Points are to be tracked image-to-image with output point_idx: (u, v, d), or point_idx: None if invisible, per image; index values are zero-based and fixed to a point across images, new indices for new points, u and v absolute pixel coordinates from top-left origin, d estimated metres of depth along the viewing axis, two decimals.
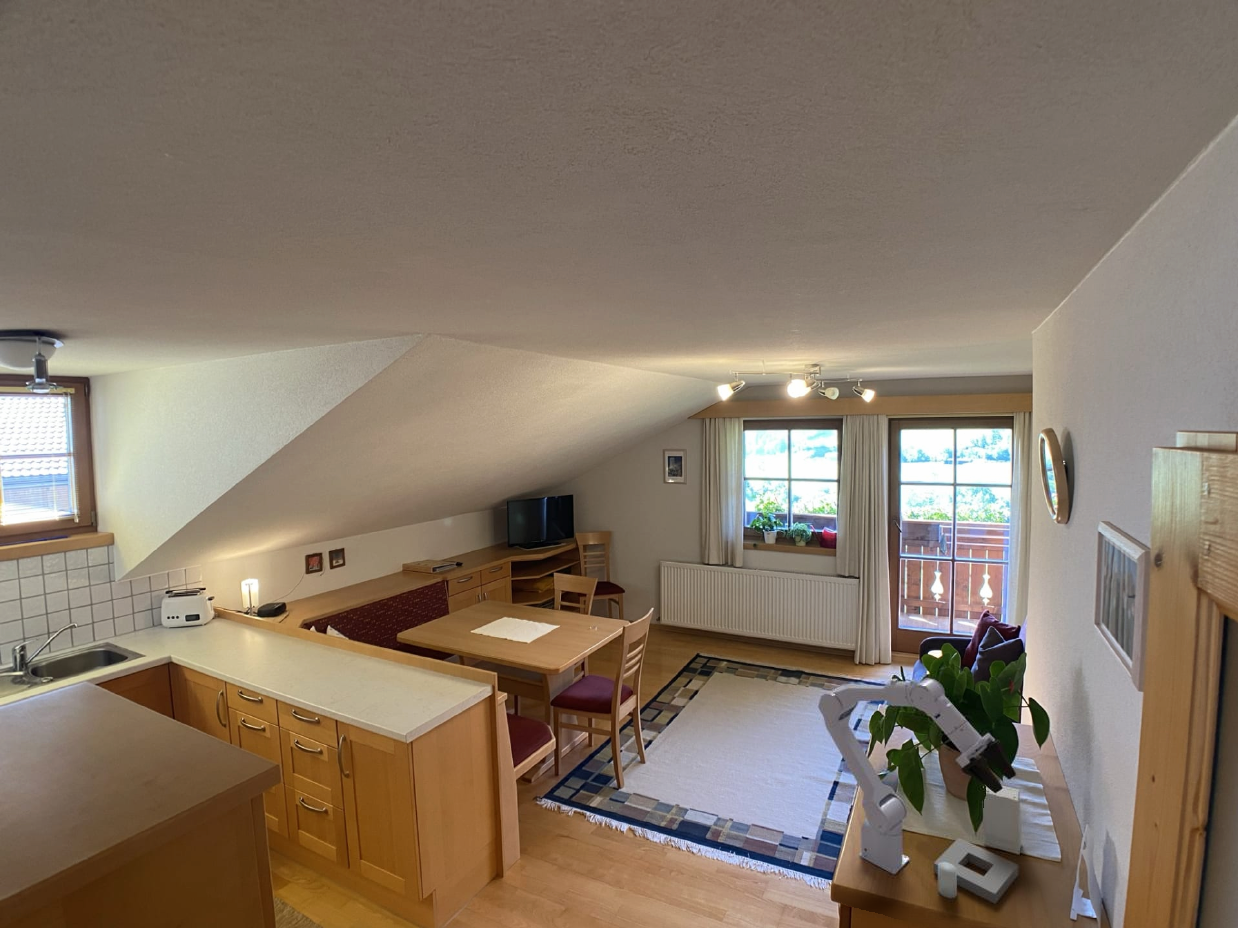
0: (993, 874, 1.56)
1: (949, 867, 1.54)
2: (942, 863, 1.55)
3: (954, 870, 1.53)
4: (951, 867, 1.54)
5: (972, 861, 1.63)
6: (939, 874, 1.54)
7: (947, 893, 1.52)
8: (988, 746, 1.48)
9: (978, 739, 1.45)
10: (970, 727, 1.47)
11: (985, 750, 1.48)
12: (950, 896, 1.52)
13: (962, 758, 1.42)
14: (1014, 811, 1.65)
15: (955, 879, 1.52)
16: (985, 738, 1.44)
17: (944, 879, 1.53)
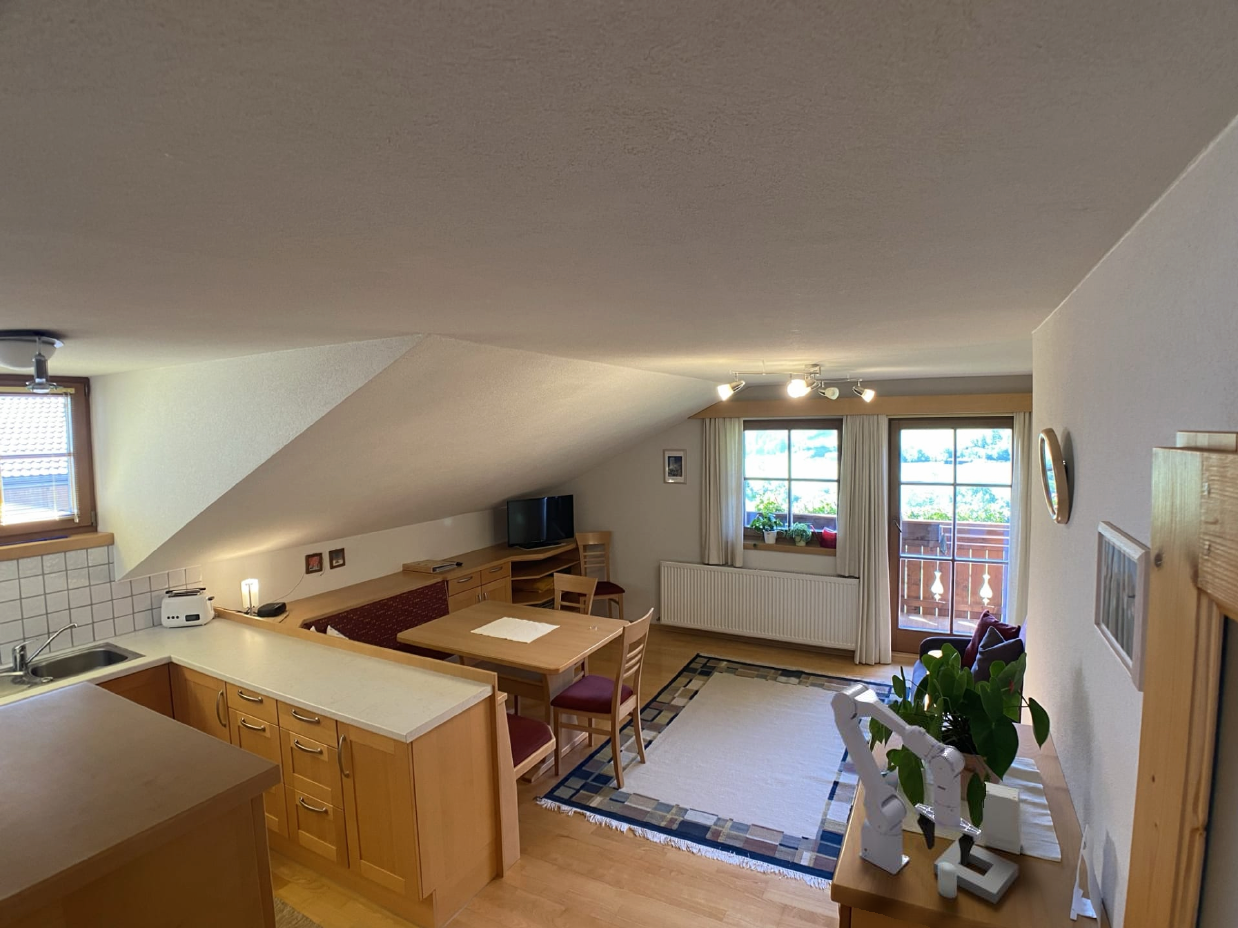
0: (993, 874, 1.56)
1: (949, 867, 1.54)
2: (942, 863, 1.55)
3: (954, 870, 1.53)
4: (951, 867, 1.54)
5: (972, 861, 1.63)
6: (939, 874, 1.54)
7: (947, 893, 1.52)
8: (963, 835, 1.50)
9: (938, 820, 1.52)
10: (941, 810, 1.51)
11: None
12: (950, 896, 1.52)
13: None
14: (1013, 811, 1.65)
15: (955, 879, 1.52)
16: (938, 826, 1.51)
17: (944, 879, 1.53)
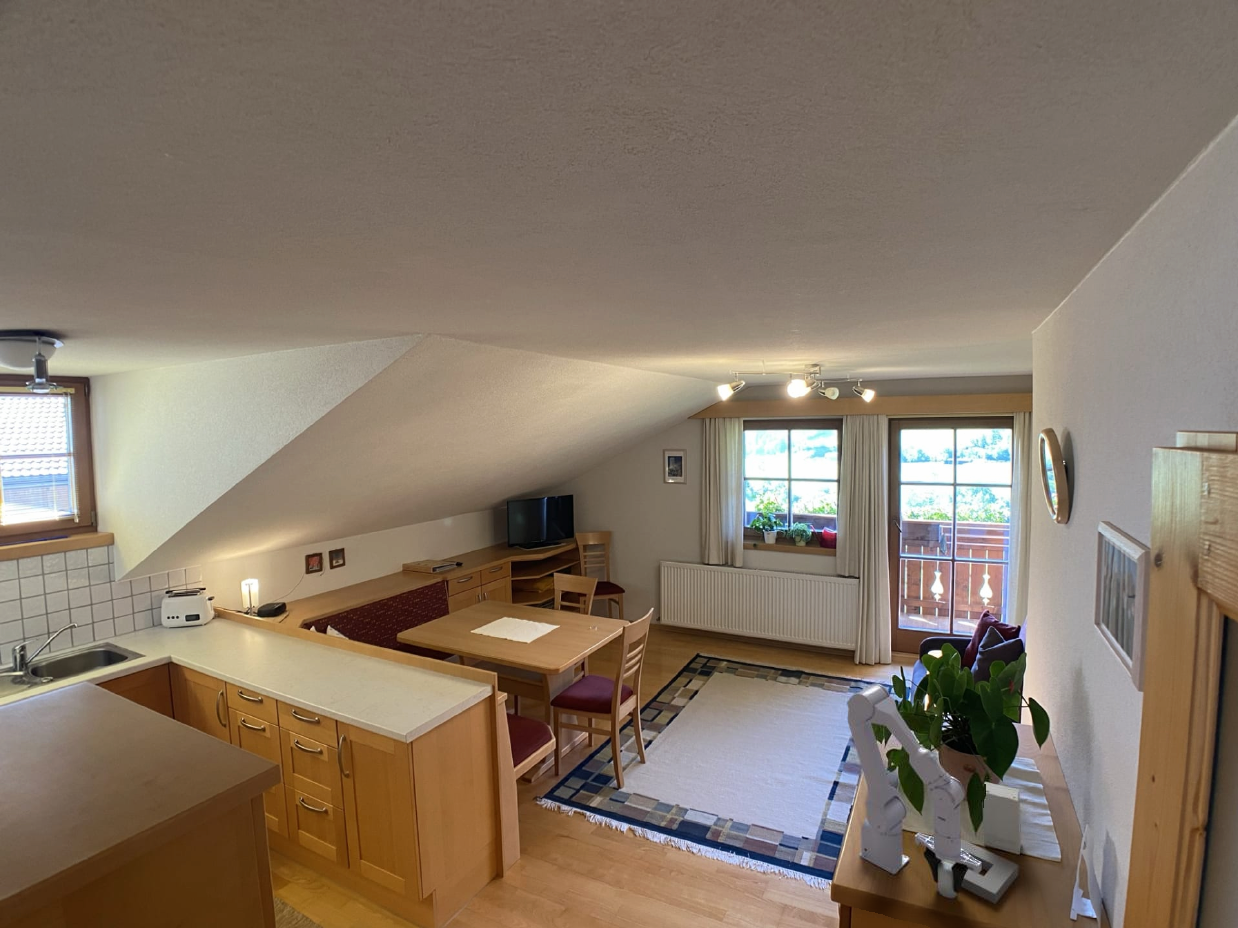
0: (993, 874, 1.56)
1: (949, 867, 1.54)
2: (942, 863, 1.55)
3: None
4: None
5: None
6: (939, 874, 1.54)
7: (947, 893, 1.52)
8: None
9: (939, 850, 1.52)
10: (941, 841, 1.52)
11: None
12: (950, 896, 1.52)
13: None
14: (1013, 811, 1.65)
15: None
16: (938, 856, 1.51)
17: (944, 879, 1.53)
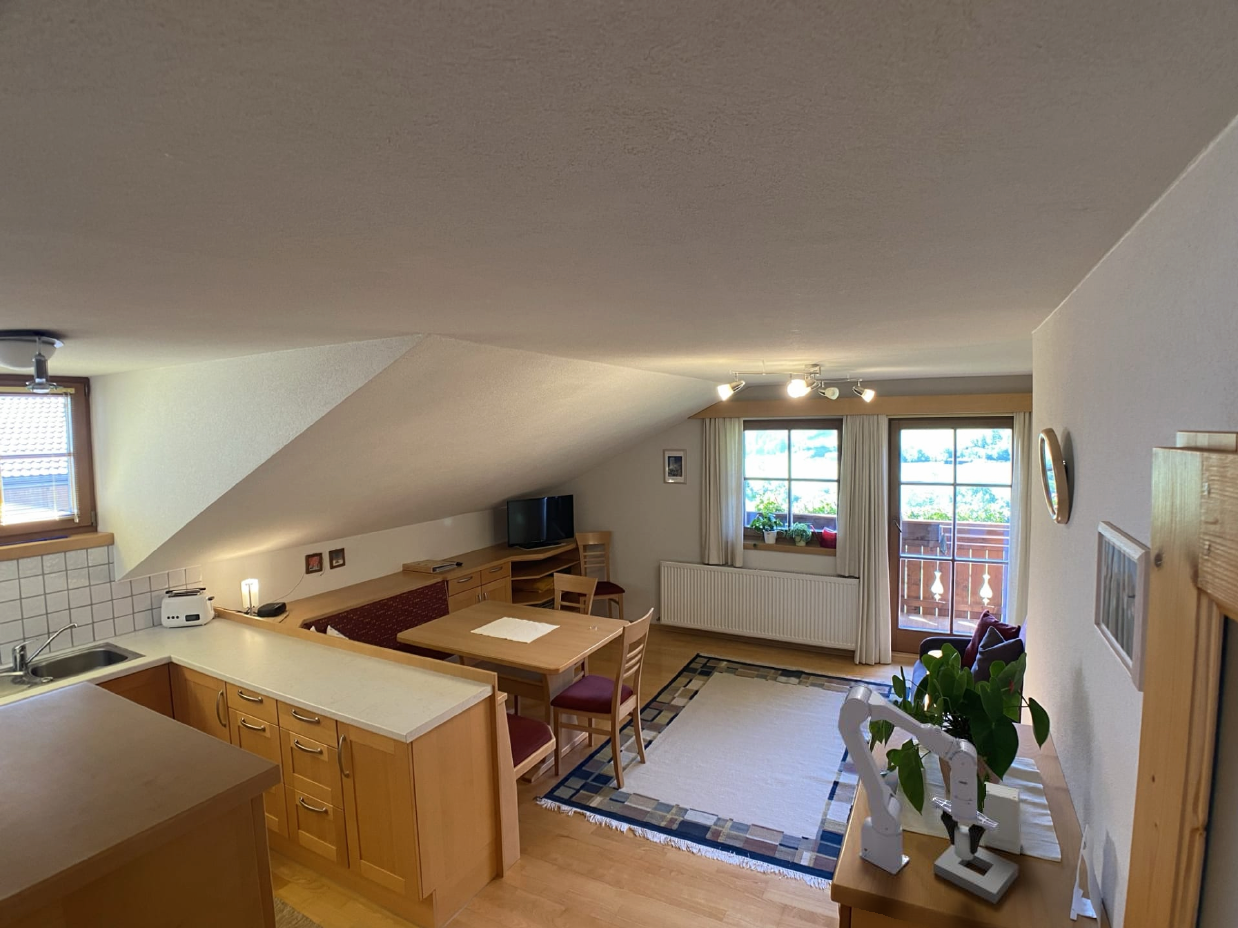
0: (993, 874, 1.56)
1: (965, 830, 1.56)
2: (958, 826, 1.58)
3: None
4: (967, 830, 1.56)
5: (972, 861, 1.63)
6: (955, 837, 1.56)
7: (964, 855, 1.55)
8: None
9: (955, 813, 1.55)
10: (957, 803, 1.54)
11: None
12: (967, 858, 1.55)
13: None
14: (1014, 811, 1.65)
15: None
16: (955, 818, 1.54)
17: (961, 841, 1.55)
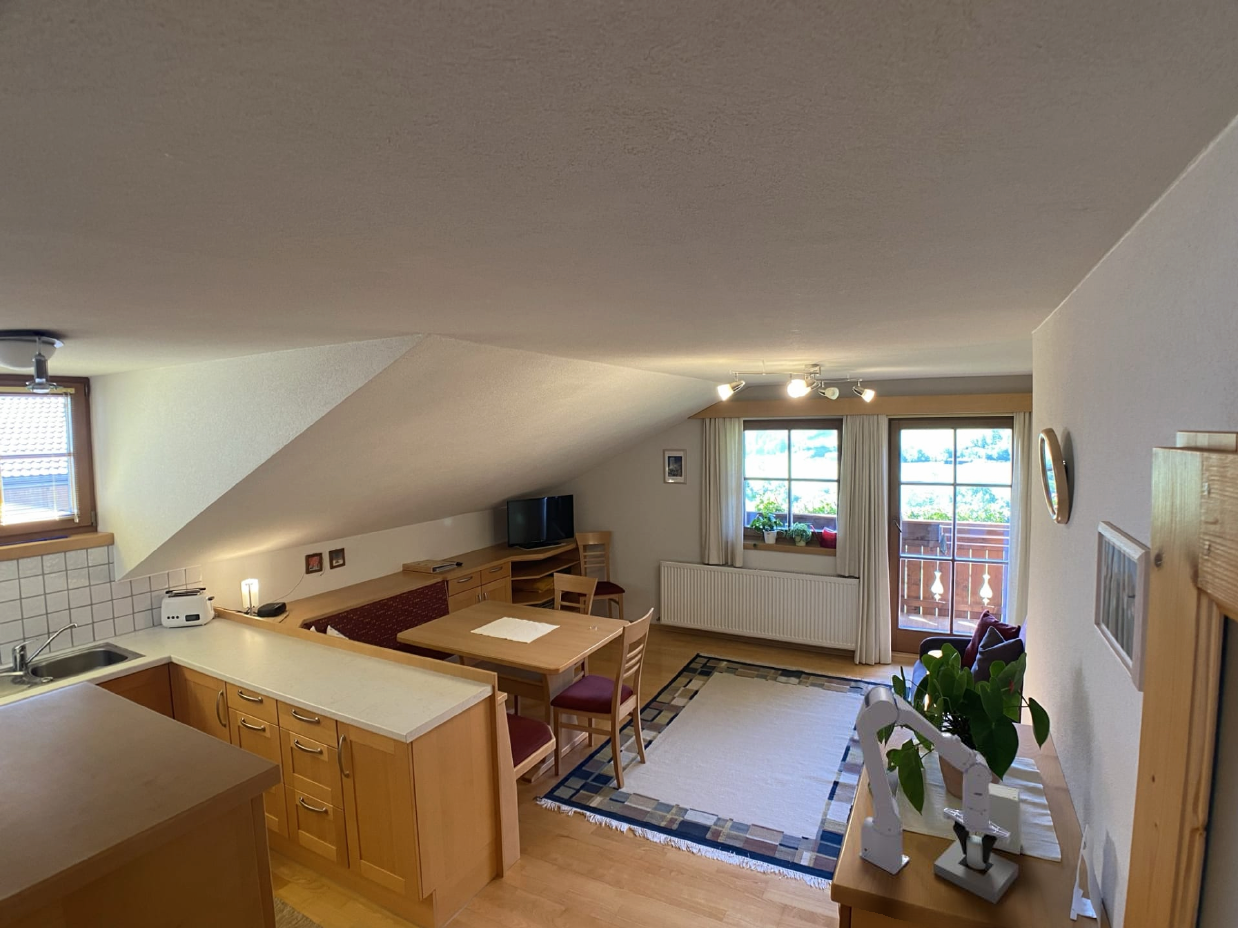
0: (993, 874, 1.56)
1: (977, 840, 1.59)
2: (970, 836, 1.60)
3: None
4: (979, 840, 1.59)
5: None
6: (968, 847, 1.59)
7: (976, 865, 1.58)
8: None
9: (968, 823, 1.57)
10: (971, 814, 1.57)
11: None
12: (979, 867, 1.57)
13: None
14: (1014, 811, 1.65)
15: None
16: (968, 829, 1.56)
17: (974, 851, 1.58)
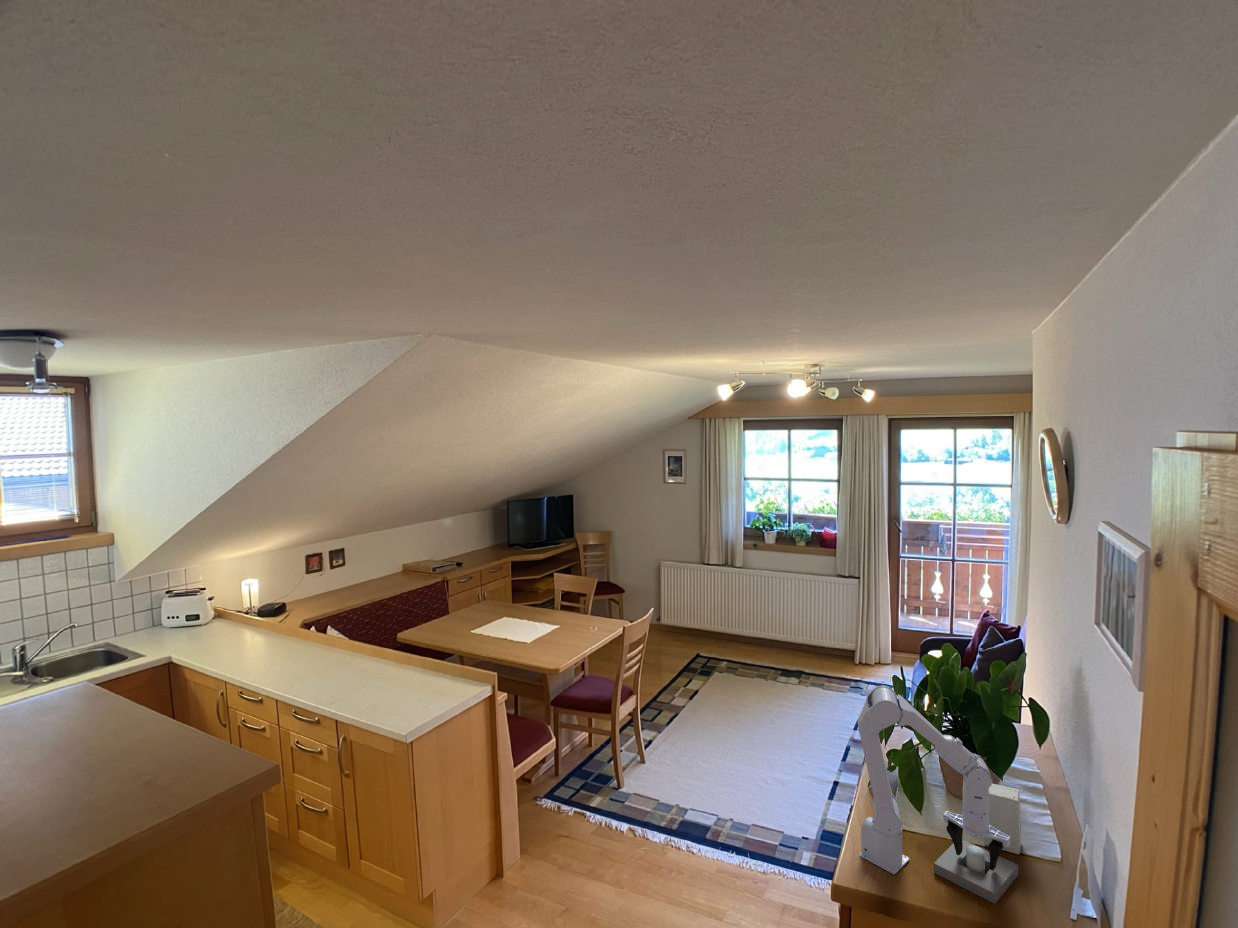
0: (993, 874, 1.56)
1: (977, 850, 1.59)
2: (970, 846, 1.61)
3: (982, 853, 1.58)
4: (979, 850, 1.59)
5: None
6: (968, 857, 1.59)
7: None
8: None
9: (968, 827, 1.57)
10: (971, 817, 1.57)
11: None
12: None
13: None
14: (1013, 811, 1.65)
15: (984, 861, 1.58)
16: (968, 833, 1.56)
17: (973, 861, 1.58)
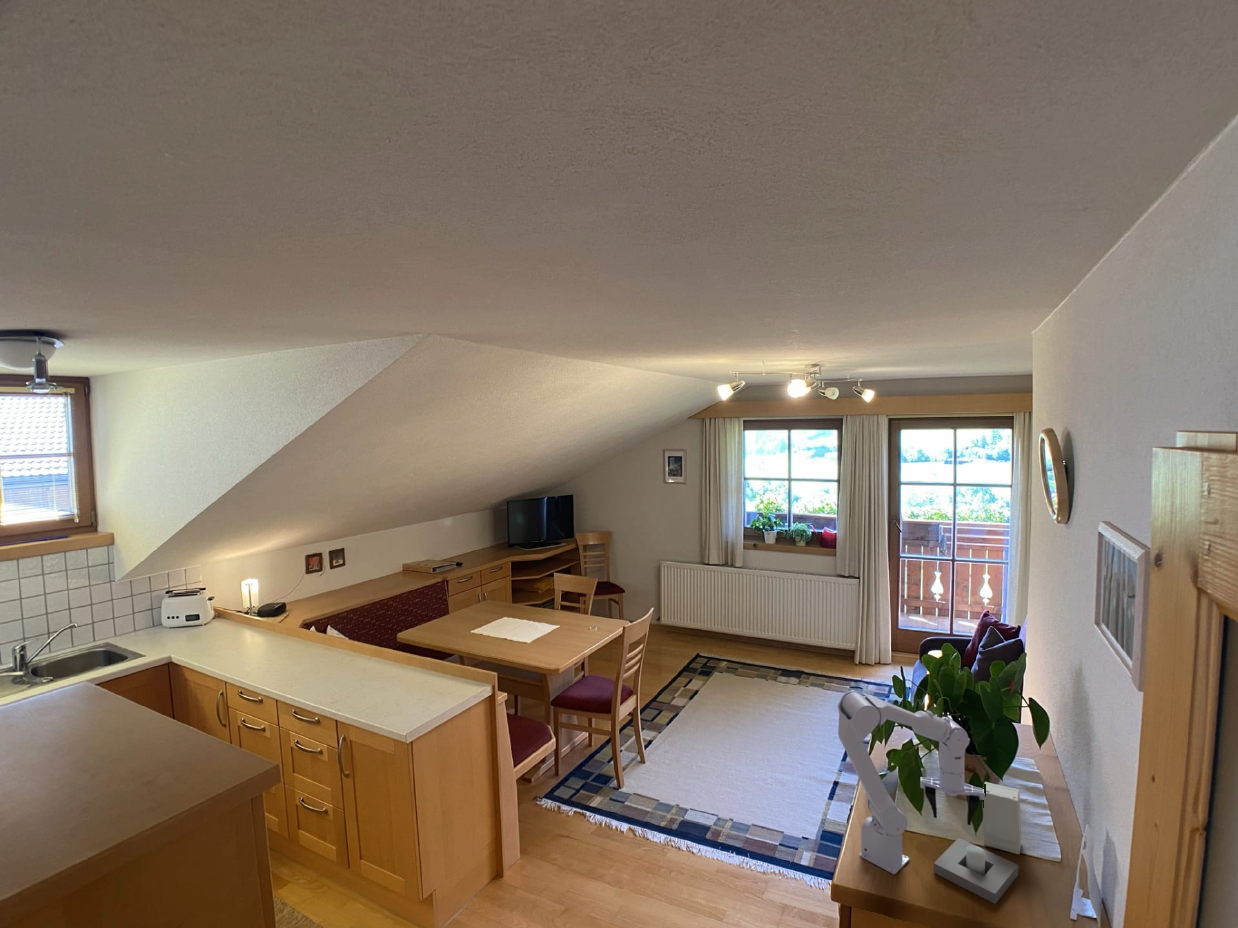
0: (993, 874, 1.56)
1: (977, 850, 1.59)
2: (970, 846, 1.61)
3: (982, 853, 1.58)
4: (979, 850, 1.59)
5: None
6: (968, 857, 1.59)
7: None
8: (969, 796, 1.64)
9: (948, 788, 1.63)
10: (951, 778, 1.63)
11: (968, 795, 1.65)
12: None
13: (920, 782, 1.68)
14: (1014, 811, 1.65)
15: (983, 861, 1.58)
16: (951, 794, 1.62)
17: (973, 861, 1.58)
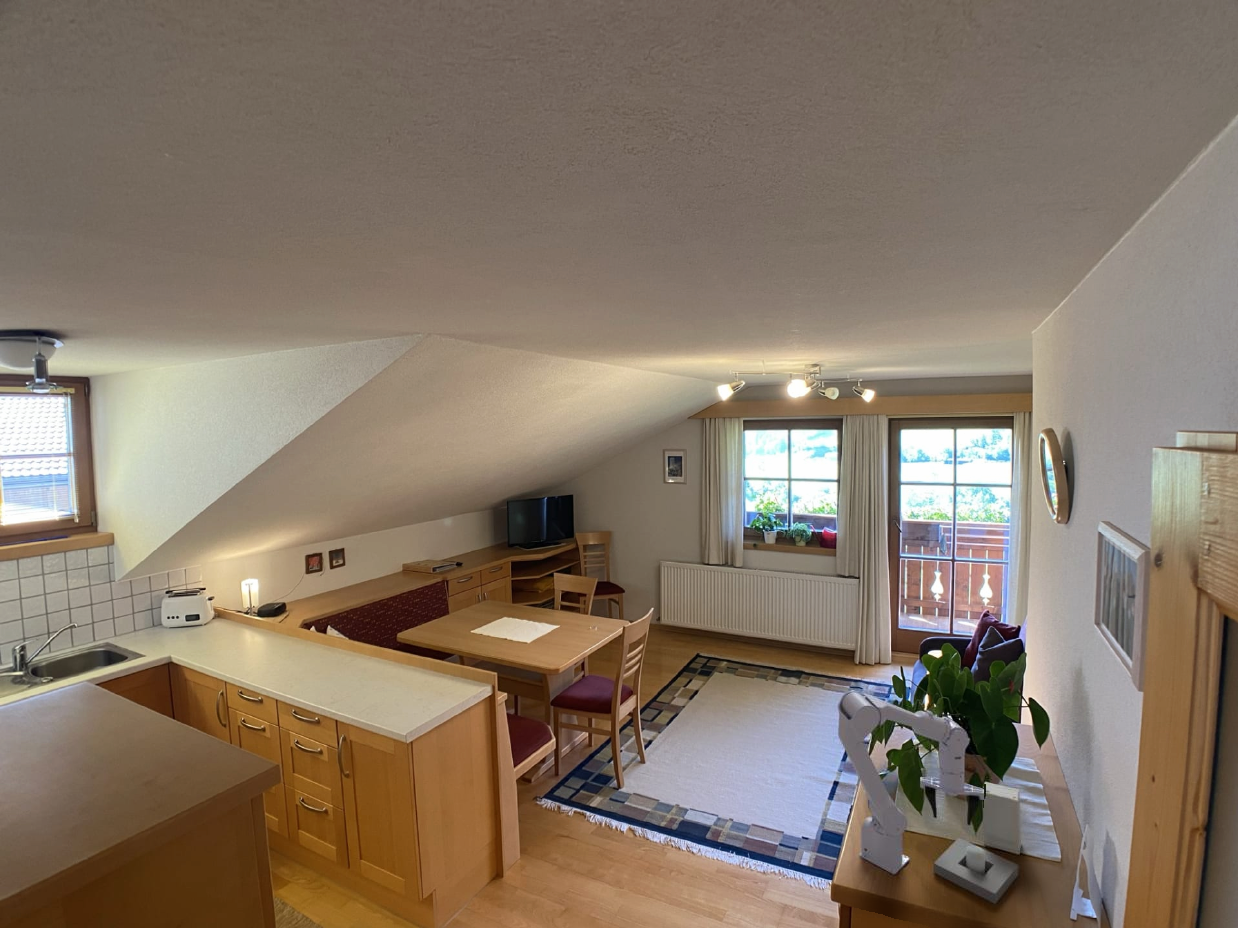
0: (993, 874, 1.56)
1: (977, 850, 1.59)
2: (970, 846, 1.61)
3: (982, 853, 1.58)
4: (979, 850, 1.59)
5: None
6: (968, 857, 1.59)
7: None
8: (969, 796, 1.64)
9: (948, 788, 1.63)
10: (951, 778, 1.63)
11: (968, 795, 1.65)
12: None
13: (920, 782, 1.68)
14: (1014, 811, 1.65)
15: (983, 861, 1.58)
16: (951, 794, 1.62)
17: (973, 861, 1.58)
